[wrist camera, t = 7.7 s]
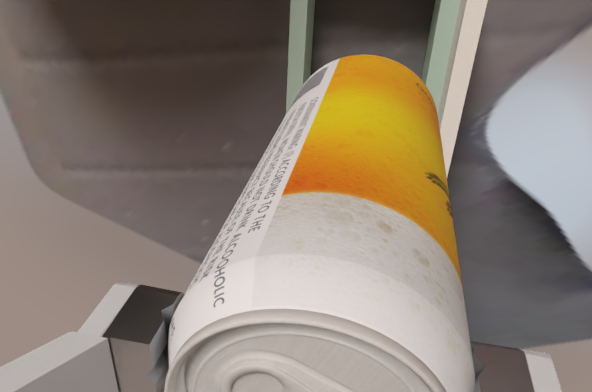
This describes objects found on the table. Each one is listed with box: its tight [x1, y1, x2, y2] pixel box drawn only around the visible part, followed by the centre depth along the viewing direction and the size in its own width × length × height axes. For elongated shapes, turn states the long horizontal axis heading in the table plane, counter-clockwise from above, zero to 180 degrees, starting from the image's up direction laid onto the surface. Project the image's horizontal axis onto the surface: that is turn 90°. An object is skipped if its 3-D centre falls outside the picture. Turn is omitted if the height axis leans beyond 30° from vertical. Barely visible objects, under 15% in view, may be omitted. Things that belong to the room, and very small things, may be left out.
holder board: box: [286, 0, 488, 177], centre depth 33 cm, size 10×20×6 cm, turn 177°
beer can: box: [164, 55, 476, 392], centre depth 15 cm, size 6×6×15 cm
